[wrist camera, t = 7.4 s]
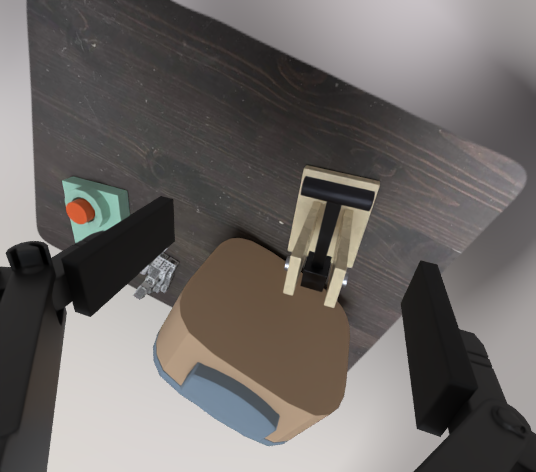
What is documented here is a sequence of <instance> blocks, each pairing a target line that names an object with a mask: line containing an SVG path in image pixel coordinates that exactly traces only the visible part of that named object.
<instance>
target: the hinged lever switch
mask: <svg viewBox="0 0 536 472" xmlns="http://www.w3.org/2000/svg"><path fill="white" fill-rule="evenodd" d="M305 176H309V177H313V178H318V179H322V180H326V181H331V182H335V183H340V184H344V185H348V186H353V187H357V188H362V189H366V190H370V191H374V192H375V197H374V201H375V198H376V195H377V193H378V190H379V187H380V181H376V180H372V179H367V178H363V177H358V176H354V175H349V174H345V173H340V172H336V171H331V170H327V169H322V168H317V167H313V166H308V165H306V166H305V168H304V171H303V176H302V181H301V186H300V191H299V196H298V201H297V205H296V210H295V215H294V220H293V225H292V230H291V235H290V240H289V245H288V251H290V252H292V254H291V256H290V257H287V259H286V262H285V266H284V270H285V271H287V275H286V280H285V285H284V290H283V293H285V294H288V295H292V296H293V294H294V291H295V288H296V285H297V282H298V279H299V276H300V273H301V270H302V267H303V264H304V261H305V258H306V256H308V254H309V251H312V252H315V248H316V244H317V240H318V235H319V231H320V227H321V223H322V219H323V215H324V211H325V207H326V203H327V201H322V200H318V199H314V198H310V197H306V196H302V195H301V187H302V183H303V180H304V177H305ZM374 201H373V204H374ZM372 207H373V205H372ZM372 207H371V210H372ZM371 210H370V211H364V210H360V209H356V208H352V207H348V206H343V205H342V206H341V210H340V213H339V216H338V220H337V223H336V227H335V230H334V233H333V237H332V240H331V243H330V247H329V250H328V253H327V256H331V257H332V259H331V263H332V265H331V270H330V275H329V281H328V286H327V291H326V296H325V301H324V305H325V306H329V307H332V308H334V307H335V304H336V301H337V298H338V295H339V292H340V289H341V287H346V284H347V281H348V277H349V273H346V271H347V267H349V268H352V266H353V263H354V260H355V257H356V254H357V251H358V248H359V245H360V242H361V239H362V237H363V234H364V231H365V228H366V225H367V222H368V219H369V216H370V213H371Z"/></svg>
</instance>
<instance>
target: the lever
mask: <svg viewBox="0 0 536 472" xmlns="http://www.w3.org/2000/svg"><path fill="white" fill-rule="evenodd" d="M301 195H302V196H306V197H310V198H314V199H318V200H322V201H327V203H326V207H325V211H324V215H323V219H322V223H321V227H320V231H319V235H318V240H317V244H316V248H315V252H312V251H309V254H308V257H307V260H306V264H305V267H304V270H303V275H302V280H301V284H300V286H302V287H305V288H309V289H312V290H315V291H319V292H323V288H324V285H325V282H326V279H327V276H328V272H329V268H330V263H331V259H332V257H331V256H327V253H328V250H329V247H330V243H331V240H332V237H333V233H334V230H335V227H336V223H337V220H338V216H339V213H340V210H341V206H342V205H343V206H348V207H352V208H356V209H360V210H364V211H370V210H371V207H372V205H373V201H374V197H375V192H374V191H370V190H366V189H362V188H357V187H353V186H348V185H344V184H340V183H335V182H331V181H326V180H322V179H318V178H313V177H309V176H305V177H304V180H303V183H302V187H301Z"/></svg>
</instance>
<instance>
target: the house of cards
mask: <svg viewBox="0 0 536 472" xmlns="http://www.w3.org/2000/svg"><path fill="white" fill-rule="evenodd" d="M164 251H165V250H164ZM164 251H163V252H164ZM179 263H180V262H178V261H176V260H175V259H173V258H171V257H170V258H169V256H167V255H166V254H164V253H161V254H160V255H159V256H158V257H157V258H156V259H155V260H153V261H152V262H151V263H150V264H149V265H148V266H147V267H146V268H144V269H143V270H142V271H141V272H140V273H141V274H143V275H145V274H147V273H149V272H150V273H149V275H148V276H147V277H146V279H145V281H144V282H143V283H142V284H141V285H140V286H139V288H138V289H137V290H136V292H135V293H134V294H133V296H135V297H136V298H138V299H139V300H140V299H142V298H143V297H145V295H146V294H147V293H149V294H150V293H151V292H153V291H155V292H157V293H158V292H159V291H163V292H164V293H166V291H167V290H168V289H169V288H168V286H169V284H170V282H171V279H172V278H173V277H174V275H173V273H174V271H175V269H176V267H177V265H178V264H179Z"/></svg>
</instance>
